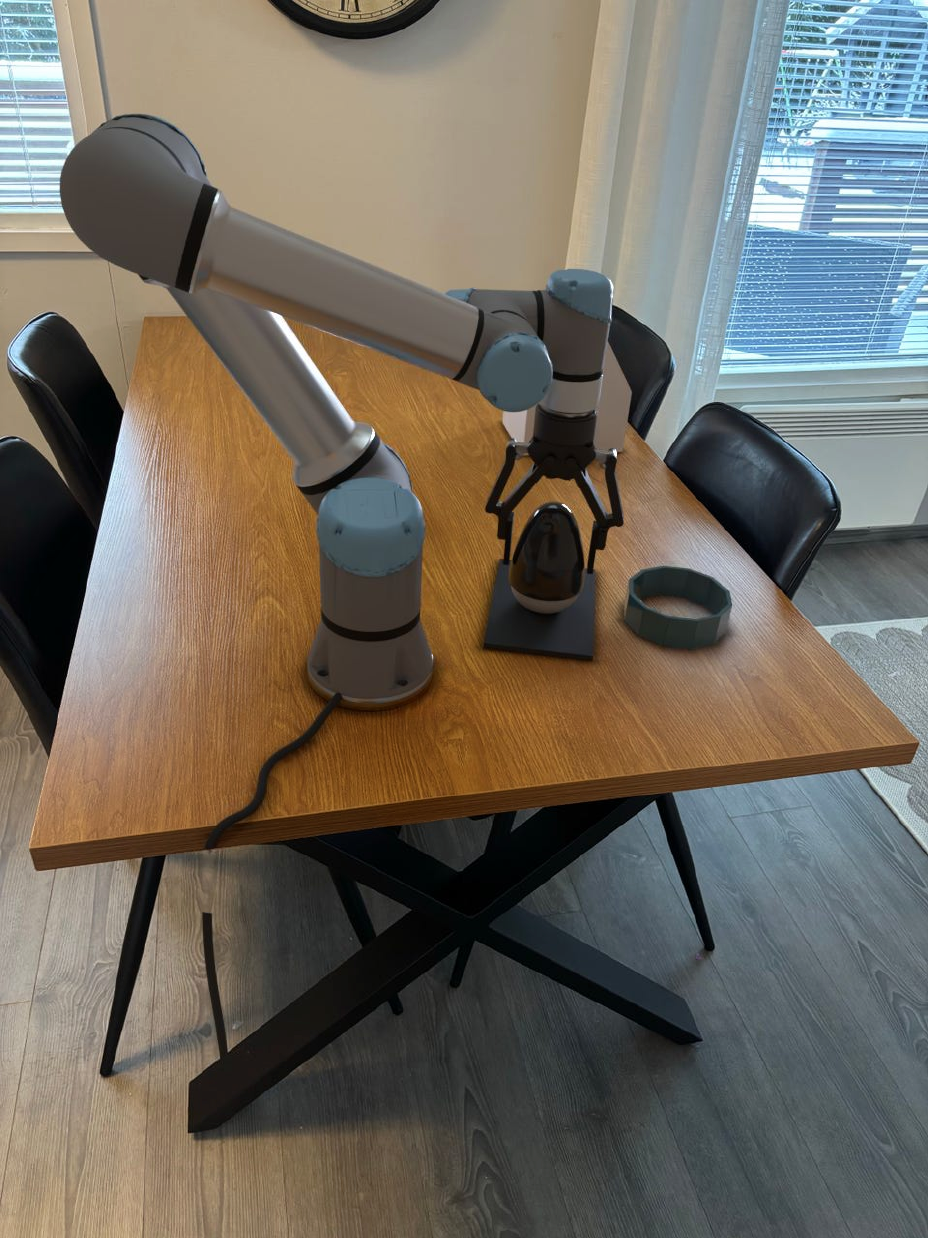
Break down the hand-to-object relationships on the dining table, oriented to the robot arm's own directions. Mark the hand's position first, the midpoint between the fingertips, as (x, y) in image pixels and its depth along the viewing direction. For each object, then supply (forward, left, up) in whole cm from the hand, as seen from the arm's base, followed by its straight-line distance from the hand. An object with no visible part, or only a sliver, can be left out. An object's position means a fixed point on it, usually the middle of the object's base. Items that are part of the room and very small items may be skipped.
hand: (548, 564), depth 128 cm
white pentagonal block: (+61, 0, -7) cm, 61 cm away
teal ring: (+1, -18, -7) cm, 19 cm away
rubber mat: (0, 0, -7) cm, 7 cm away
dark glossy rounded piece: (0, 0, -6) cm, 6 cm away
